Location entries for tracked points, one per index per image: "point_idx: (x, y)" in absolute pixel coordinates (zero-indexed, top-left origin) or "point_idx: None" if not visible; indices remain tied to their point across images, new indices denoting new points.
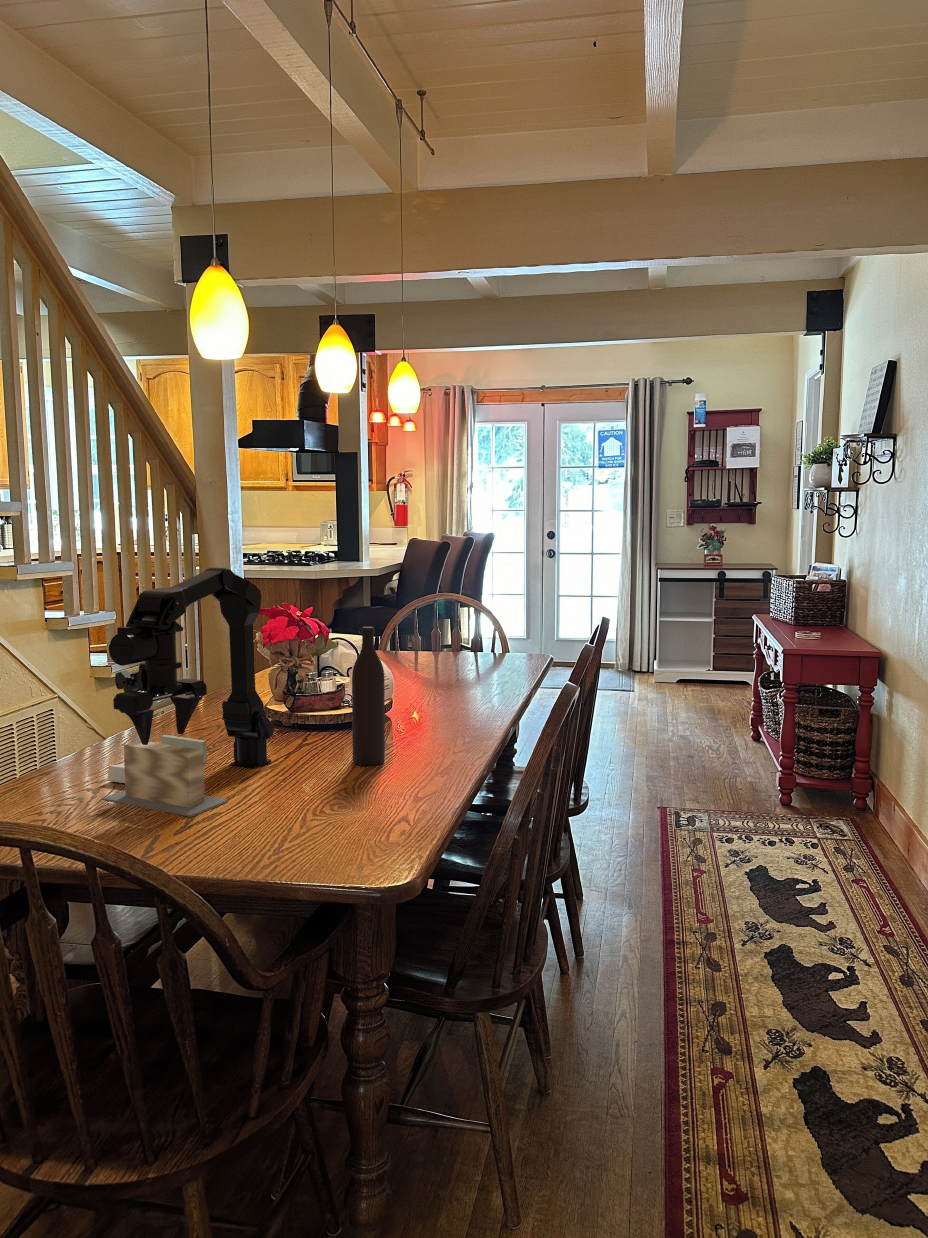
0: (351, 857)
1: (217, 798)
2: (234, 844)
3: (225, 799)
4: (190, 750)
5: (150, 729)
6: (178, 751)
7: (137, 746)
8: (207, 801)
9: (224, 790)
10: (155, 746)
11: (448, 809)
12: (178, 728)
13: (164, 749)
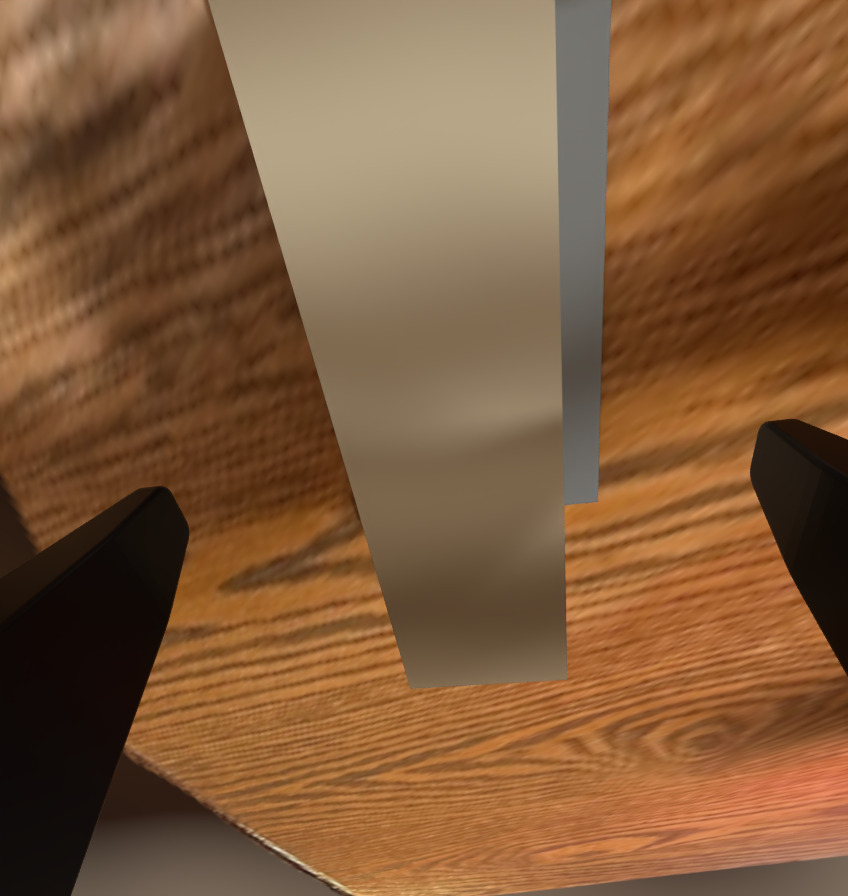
0: (420, 849)
1: (591, 459)
2: (307, 716)
3: (595, 493)
4: (506, 638)
5: (112, 754)
6: (430, 603)
7: (266, 137)
8: None
9: (753, 363)
10: (420, 333)
11: (781, 856)
12: (797, 482)
13: (401, 487)
